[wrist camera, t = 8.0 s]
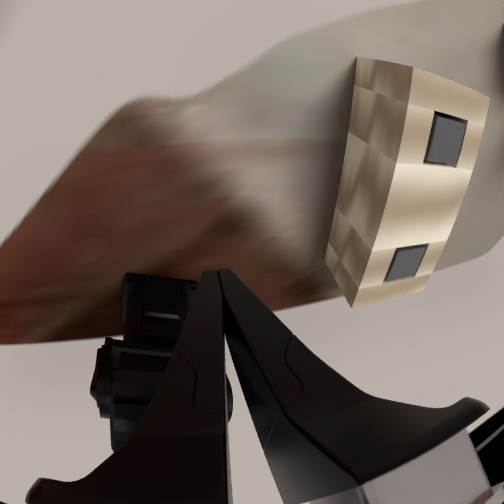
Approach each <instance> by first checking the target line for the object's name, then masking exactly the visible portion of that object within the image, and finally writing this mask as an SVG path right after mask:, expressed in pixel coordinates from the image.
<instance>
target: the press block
mask: <svg viewBox="0 0 504 504" xmlns="http://www.w3.org/2000/svg"><path fill="white" fill-rule="evenodd" d="M489 101H490V98H489V97H487V96H485V95H483V94H480V93H478V92H476V91H474V90H472V89H470V88H467V87H465V86H463V85H460V84H458V83H456V82H453V81H451V80H448V79H446V78H443V77H440V76H438V75H435V74H432V73H429V72H426V71H424V70H421V69H418V68H414V67H411V66H406V65H402V64H397V63H392V62H387V61H381V60H375V59H369V58H362V57H357V61H356V72H355V82H354V91H353V99H352V107H351V115H350V122H349V130H348V136H347V143H346V150H345V156H344V162H343V168H342V174H341V180H340V185H339V191H338V196H337V201H336V206H335V212H334V217H333V221H332V226H331V231H330V236H329V240H328V245H327V250H326V254H325V258H324V262H325V263H326V265H327V267H328V268H329V270H330V272H331V273H332V275H333V277H334V279H335V280H336V282H337V284H338V286H339V287H340V289H341V291H342V293H343V294H344V296H345V298H346V300H347V301H348V303H349V305H350V307H351V308H355V307H359V306H364V305H368V304H372V303H377V302H381V301H385V300H389V299H394V298H397V297H401V296H406V295H409V294H413V293H417V292H421V291H423V289H424V287H425V285H426V283H427V281H428V279H429V277H430V275H431V273H432V271H433V269H434V267H435V265H436V263H437V261H438V259H439V257H440V254H441V252H442V250H443V248H444V246H445V243H446V241H447V239H448V236H449V234H450V232H451V229H452V227H453V224H454V222H455V219H456V217H457V214H458V211H459V209H460V206H461V203H462V201H463V198H464V195H465V192H466V189H467V186H468V183H469V180H470V177H471V174H472V171H473V167H474V164H475V161H476V157H477V154H478V150H479V146H480V142H481V138H482V134H483V130H484V126H485V121H486V116H487V111H488V106H489ZM434 111H438V112H441V113H443V114H445V115H448V116H450V117H452V118H454V119H456V120H458V121H460V122H462V123H464V124H466V126H465V130H464V134H463V139H462V143H461V147H460V150H459V154H458V158H457V162H456V165H454V164H446V163H437V162H428V161H426V160H425V159H424V156H425V152H426V148H427V144H428V140H429V135H430V130H431V126H432V121H433V116H434ZM420 244H424V245H425V246H426V249H425V252H424V254H423V256H422V259H421V261H420V263H419V265H418V268H417V270H416V272H415V274H414V276H411V277H406V278H402V279H397V280H392V281H387V282H386V280H385V279H384V278H385V275H386V273H387V270H388V268H389V265H390V263H391V260H392V258H393V255H394V252H395V250H396V248H398V247H406V246H413V245H420Z"/></svg>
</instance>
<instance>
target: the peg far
mask: <svg viewBox="0 0 504 504" xmlns="http://www.w3.org/2000/svg"><path fill="white" fill-rule="evenodd" d="M425 249H426V246H425V245H424V244H420V245H413V246H406V247H398V248H396V250H395V252H394V255H393V258H392V260H391V263H390V265H389V268H388V270H387V273H386V275H385V278H384V279H385V280H386V282H387V281H392V280H397V279H402V278H406V277H411V276H414V274H415V272H416V270H417V268H418V265H419V263H420V261H421V259H422V256H423V254H424V252H425Z"/></svg>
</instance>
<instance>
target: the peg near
mask: <svg viewBox="0 0 504 504" xmlns="http://www.w3.org/2000/svg"><path fill="white" fill-rule="evenodd" d="M465 126H466V124H464V123H462V122H460V121H458V120H456V119H454V118H452V117H450V116H448V115H445V114H443V113H441V112H438V111H434V116H433V121H432V126H431V130H430V135H429V140H428V144H427V148H426V152H425V156H424V159H425V160H426V161H428V162H437V163H446V164H454V165H456V162H457V158H458V154H459V150H460V147H461V143H462V139H463V134H464V130H465Z"/></svg>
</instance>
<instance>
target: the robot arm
mask: <svg viewBox="0 0 504 504" xmlns="http://www.w3.org/2000/svg"><path fill="white" fill-rule="evenodd" d="M128 278H131V279H128ZM192 286H195V287H192ZM122 322H123V323H124V324H125V325H124V337H123V340H116V339H113V338H110V337H106V338H105V344H104V345H102V348H99V349H98V350H97V358H96V366H95V371H94V374H93V379H92V382H91V387H90V394H91V396H92V397H93V398H94V399H95V400H96V401H97V407H98V408H99V410H100V417H101V418H108V419H110V431H111V447H112V450H113V452H114V453H113V454H112V455H111V456H110V457H109V458H107V459H106V460H105V461H104V462H103V463H101V464H100V465H99V466H98V467H97V468H96V469H94V470H93V471H92V472H91V473H90V474H88V475H87V476H86V477H84V478H82V479H80V480H77V481H72V482H63V481H58V480H53V479H47V478H39V479H37V481H36V482H35V483H34V484H33V485H32V487H31V488H30V490H29V491H28V493H27V496H26V499H25V502H26V503H27V504H233V498H232V485H231V469H230V453H229V435H228V422H229V421H230V419H231V416H232V410H233V395H232V389H231V385H230V382H229V379H228V377H227V374H226V369H225V368H226V367H225V337H226V341H227V344H228V347H229V351H230V354H231V357H232V360H233V363H234V367H235V370H236V372H237V376H238V379H239V382H240V385H241V388H242V391H243V394H244V397H245V400H246V403H247V406H248V408H249V412H250V415H251V418H252V420H253V423H254V426H255V429H256V432H257V435H258V437H259V440H260V443H261V446H262V448H263V451H264V454H265V457H266V459H267V462H268V465H269V467H270V470H271V473H272V475H273V478H274V480H275V483H276V485H277V488H278V490H279V493H280V495H281V498H282V500H283V503H284V504H301V503H306V502H310V504H504V407H503V408H501V409H500V410H499V411H497V412H496V413H495V414H494V415H492V416H491V417H490V418H489V419H487V420H486V421H484V422H483V423H482V424H480V425H479V426H478V427H476V428H475V429H474V430H473V431H471V432H470V433H468V432H467V430H466V427H467V426H469V425H470V424H472V423H473V422H474V421H476V420H477V419H478V418H480V417H481V416H482V415H484V414H485V413H486V412H487V411H488V410H489V409H490V408H489V407H488V406H487V405H486V404H485V403H483V402H481V401H479V400H476V399H473V398H469V397H465V398H463V399H461V400H459V401H458V402H457V403H455V404H453V405H451V406H449V407H445V408H428V407H422V406H417V405H411V404H406V403H401V402H396V401H391V400H386V399H382V398H378V397H374V396H372V395H369V394H367V393H365V392H363V391H362V390H360V389H359V388H357V387H356V386H354V385H353V384H352V383H351V382H349V381H348V380H347V379H345V378H344V377H343V376H341V375H340V374H339V373H337V372H336V371H335V370H334V369H332V368H331V367H329V366H328V365H327V364H326V363H325V362H323V361H322V360H321V359H320V358H319V357H317V356H316V355H315V354H314V353H313V352H312V351H310V350H309V349H308V348H307V347H306V346H305V345H304V344H303V343H302V342H301V341H300V340H299V339H298V338H297V337H296V336H295V335H293V333H292V332H291V331H290V330H289V329H288V328H287V327H286V326H285V325H284V324H283V323H282V322H281V321H280V320H279V318H277V316H276V315H275V314H274V313H273V312H272V311H271V310H270V309H269V308H268V307H267V306H266V305H265V304H264V303H263V302H262V301H261V300H260V299H259V298H258V297H257V296H256V295H255V294H254V293H253V292H252V290H251V289H250V288H249V287H248V286H247V285H246V284H245V283H244V282H243V281H242V280H241V279H240V278H239V277H238V276H237V275H236V274H235V273H234V271H233V270H232V269H230V268H223V269H218V270H215V269H213V270H205V271H204V272H203V274H202V276H201V279H200V281H199V284H198V283H197V282H196V281H191V280H182V279H174V278H167V277H159V276H151V275H144V274H136V273H126V274H125V276H124V283H123V303H122ZM224 333H225V336H224ZM0 504H7V503H4V502H1V501H0Z"/></svg>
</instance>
